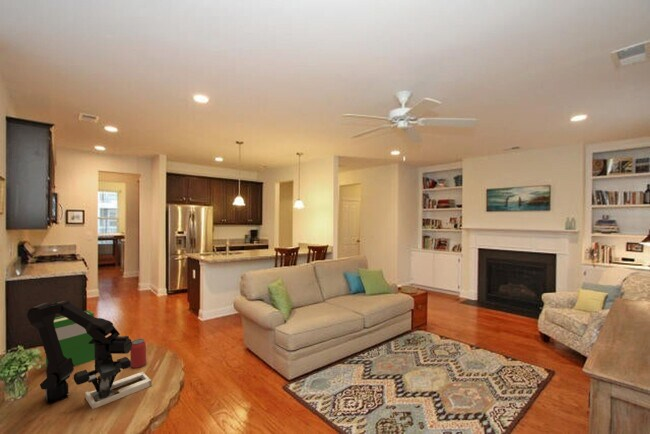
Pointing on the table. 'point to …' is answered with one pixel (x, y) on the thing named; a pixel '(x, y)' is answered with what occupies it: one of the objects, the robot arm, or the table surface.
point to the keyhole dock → (123, 391)
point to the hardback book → (74, 340)
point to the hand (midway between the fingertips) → (104, 390)
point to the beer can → (138, 353)
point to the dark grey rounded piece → (103, 389)
